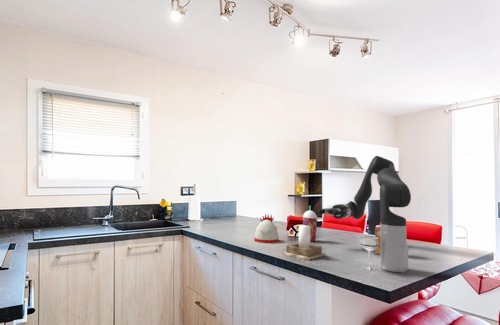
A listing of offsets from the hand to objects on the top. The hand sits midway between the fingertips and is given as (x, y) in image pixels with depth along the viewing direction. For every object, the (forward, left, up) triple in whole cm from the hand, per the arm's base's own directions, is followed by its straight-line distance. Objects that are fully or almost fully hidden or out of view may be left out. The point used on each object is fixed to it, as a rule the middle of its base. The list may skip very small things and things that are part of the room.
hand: (326, 212), depth 155 cm
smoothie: (+19, -15, -19) cm, 30 cm away
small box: (-23, -14, -19) cm, 33 cm away
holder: (+2, +17, -18) cm, 25 cm away
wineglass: (-28, +17, -19) cm, 38 cm away
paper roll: (+2, +17, -17) cm, 25 cm away
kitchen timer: (+36, +3, -19) cm, 40 cm away
